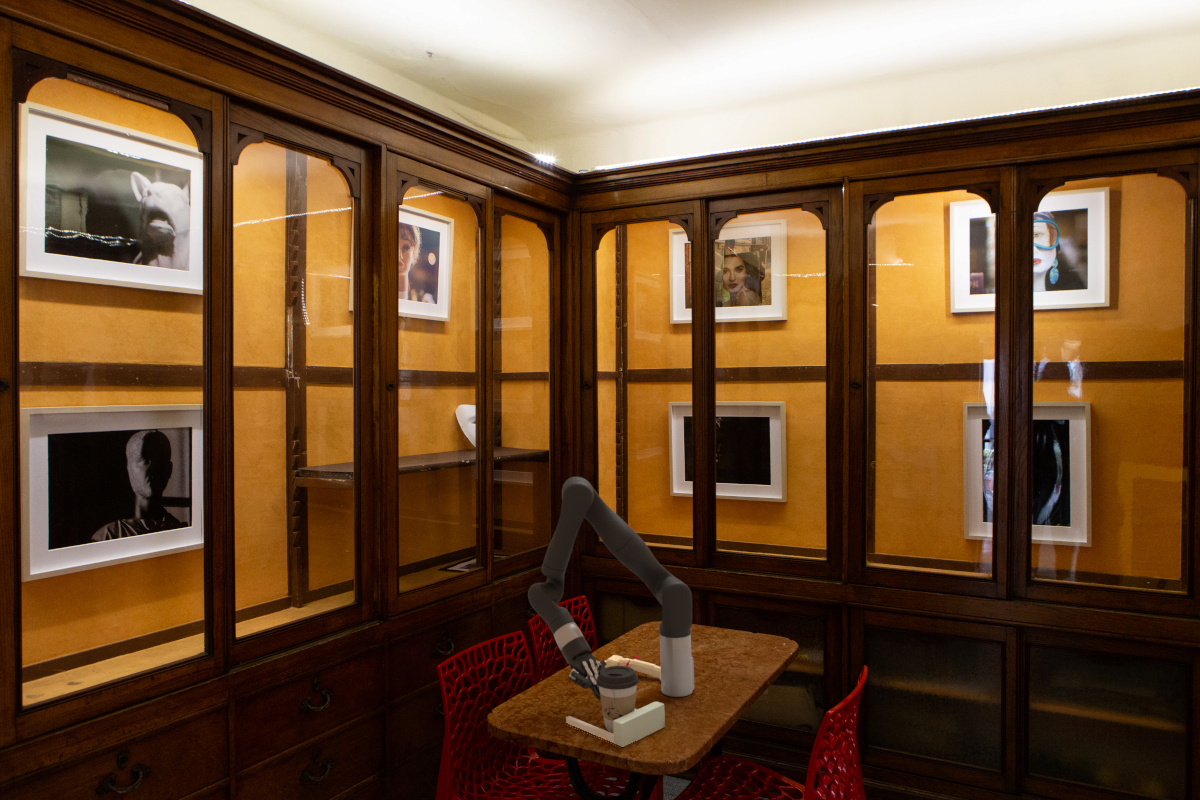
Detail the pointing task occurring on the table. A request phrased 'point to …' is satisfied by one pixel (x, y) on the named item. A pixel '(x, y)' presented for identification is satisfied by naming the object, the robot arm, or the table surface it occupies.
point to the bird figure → (634, 665)
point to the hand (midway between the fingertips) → (602, 698)
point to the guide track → (628, 725)
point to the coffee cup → (617, 692)
